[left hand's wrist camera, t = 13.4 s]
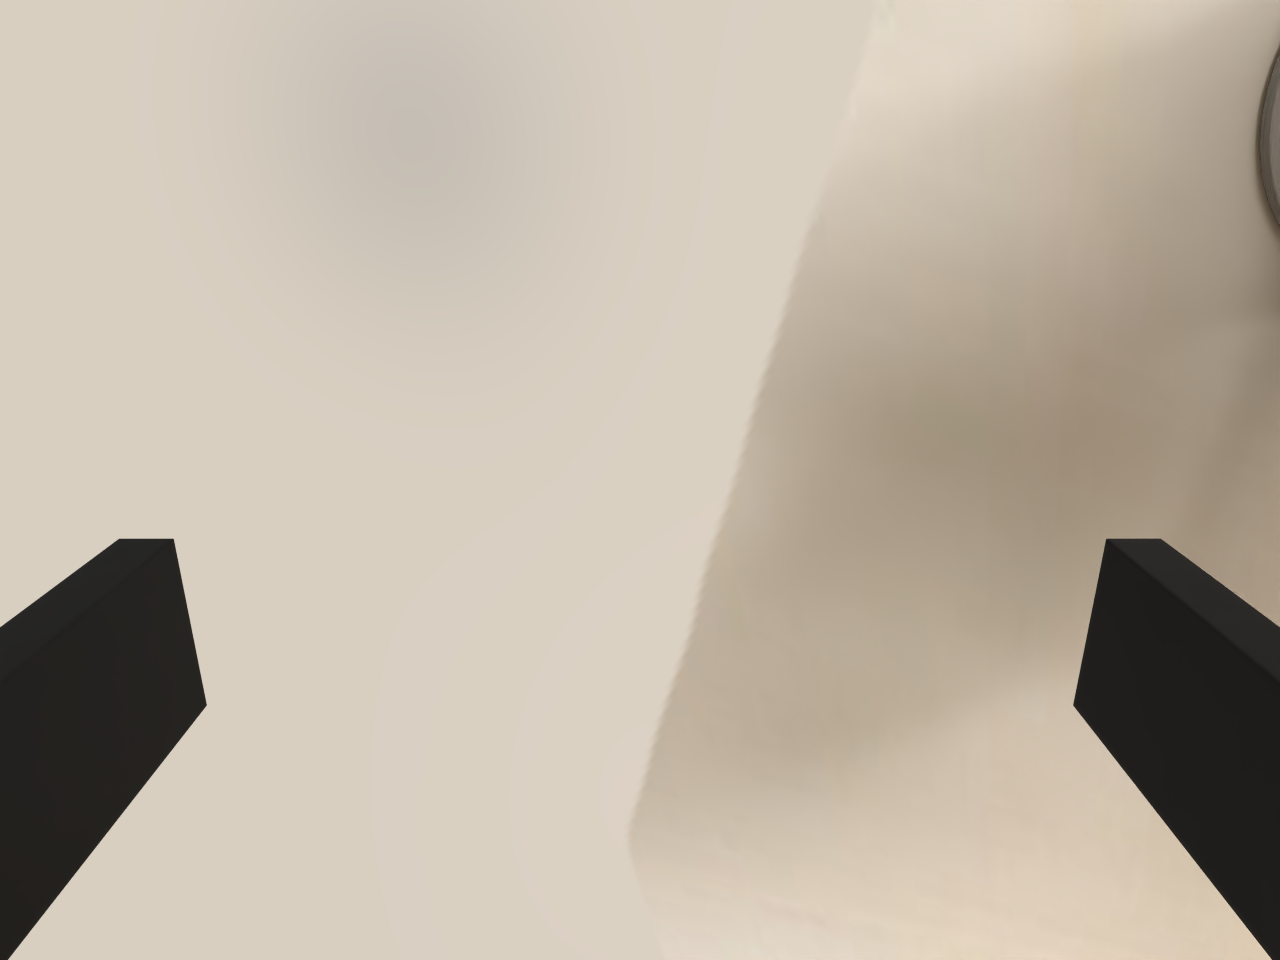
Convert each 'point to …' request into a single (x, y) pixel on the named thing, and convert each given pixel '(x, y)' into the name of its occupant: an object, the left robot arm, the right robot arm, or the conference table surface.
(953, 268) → the conference table surface
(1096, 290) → the conference table surface
